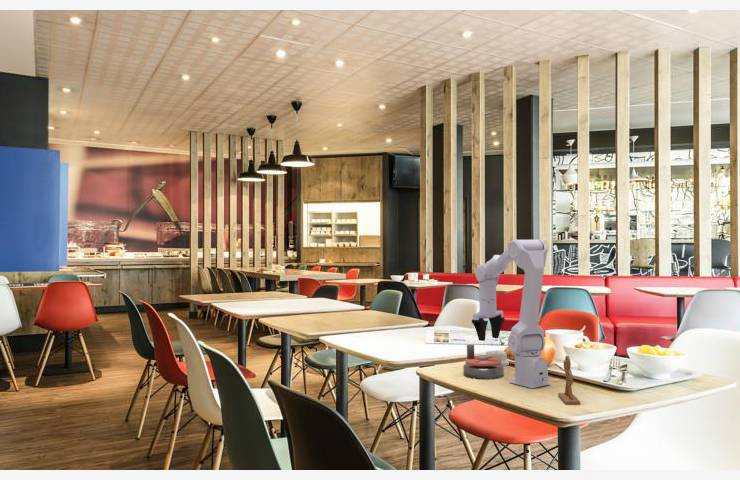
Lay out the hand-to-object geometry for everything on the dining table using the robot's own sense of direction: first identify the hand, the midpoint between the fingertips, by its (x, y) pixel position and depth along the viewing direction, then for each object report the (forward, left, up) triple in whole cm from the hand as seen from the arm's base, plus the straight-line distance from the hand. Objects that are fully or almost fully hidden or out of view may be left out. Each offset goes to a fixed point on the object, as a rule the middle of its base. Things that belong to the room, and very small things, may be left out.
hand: (488, 339), depth 192 cm
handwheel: (-5, +7, -7) cm, 11 cm away
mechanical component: (+7, -10, -11) cm, 16 cm away
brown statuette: (-42, +11, -11) cm, 44 cm away
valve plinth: (-5, +7, -10) cm, 14 cm away
